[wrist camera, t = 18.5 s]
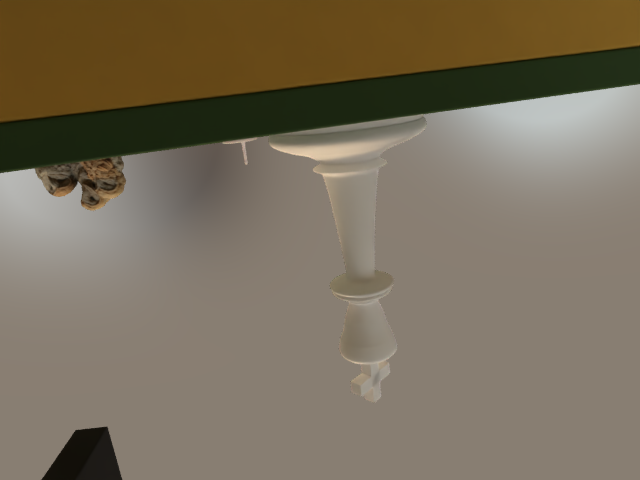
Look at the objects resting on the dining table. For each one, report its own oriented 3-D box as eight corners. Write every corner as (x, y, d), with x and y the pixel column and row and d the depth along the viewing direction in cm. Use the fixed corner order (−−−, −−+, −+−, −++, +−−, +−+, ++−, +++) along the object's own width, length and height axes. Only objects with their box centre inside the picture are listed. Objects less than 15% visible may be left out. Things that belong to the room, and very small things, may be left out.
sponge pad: (-93, 73, 18) (-66, 155, 19) (-630, 11, 6) (-490, 241, 7) (411, 24, 23) (415, 93, 24) (675, -70, 10) (663, 80, 11)
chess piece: (358, 117, 12) (390, 467, 15) (459, 97, 15) (469, 385, 18) (229, 125, 15) (276, 410, 18) (335, 108, 18) (360, 350, 21)
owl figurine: (88, 99, 70) (117, 218, 75) (138, 95, 80) (160, 199, 85) (-14, 112, 75) (20, 223, 79) (46, 107, 85) (72, 205, 90)
